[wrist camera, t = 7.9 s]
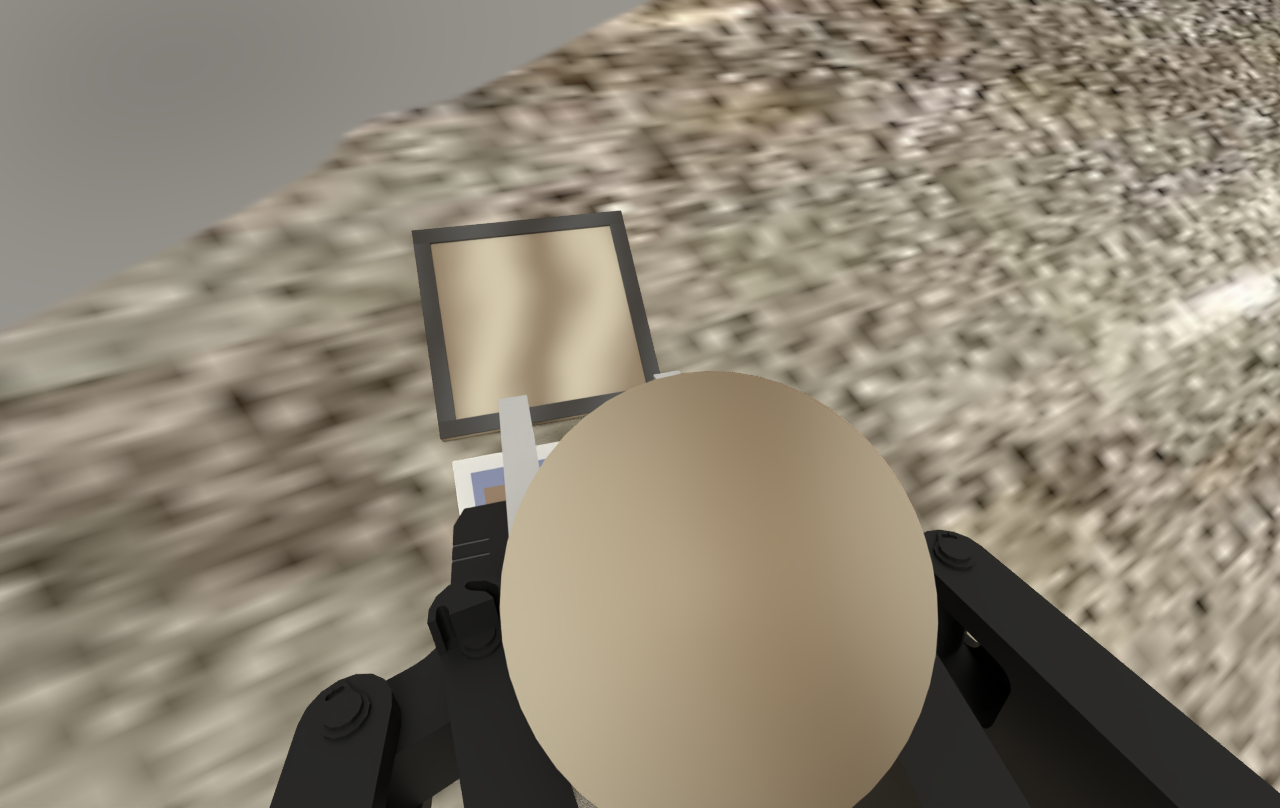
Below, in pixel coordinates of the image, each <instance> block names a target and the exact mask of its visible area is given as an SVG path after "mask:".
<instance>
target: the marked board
mask: <svg viewBox="0 0 1280 808" xmlns="http://www.w3.org/2000/svg"><path fill="white" fill-rule="evenodd" d="M412 236H413V243H414V251H415V258H416V265H417V272H418V280H419V287H420V294H421V301H422V309H423V316H424V323H425V330H426V338H427V345H428V352H429V359H430V367H431V374H432V381H433V389H434V396H435V403H436V410H437V418H438V425H439V432H440V439H441V440H442V441H448V440H454V439H460V438H465V437H471V436H477V435H482V434H488V433H494V432H499V431H501V429H500V416H499V403H498V399H503V398H509V397H516V396H522V395H527V399H528V405H529V410H530V416H531V422H532V426H533V425H539V424H544V423H550V422H556V421H561V420H567V419H573V418H578V417H584V416H587V415H588V414H590V413H591V412H592V411H594V410H595V409H597V408H598V407H599V406H601V405H602V404H604V403H605V402H606V401H608V400H610V399H612V398H614V397H616V396H618V395H619V394H621V393H623V392H625V391H627V390H629V389H631V388H633V387H636V386H639V385H642V384H644V383H647V382H650V381H652V380H654V379H653V375H654V374H660V372H659V367H658V363H657V359H656V355H655V351H654V347H653V342H652V338H651V334H650V330H649V326H648V321H647V317H646V313H645V309H644V305H643V300H642V296H641V292H640V288H639V284H638V280H637V275H636V271H635V267H634V263H633V259H632V254H631V250H630V246H629V242H628V238H627V234H626V229H625V225H624V221H623V217H622V213H621V211H611V212H601V213H590V214H580V215H570V216H559V217H549V218H538V219H528V220H518V221H507V222H497V223H487V224H476V225H466V226H455V227H445V228H435V229H424V230H414V231H412Z"/></svg>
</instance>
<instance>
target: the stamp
mask: <svg viewBox="0 0 1280 808" xmlns="http://www.w3.org/2000/svg"><path fill="white" fill-rule="evenodd" d="M484 495H485V502H486V504H490V503H495V502H500V501H505V500H506V493H505V484H504V485H499V486H494V487H489V488H484ZM500 617H501V630H502V642H503V647H504V652H505V657H506V661H507V666H508V671H509V676H510V679H511V681H512V684H513V687H514V690H515V693H516V696H517V699H518V701H519V704H520V707H521V710H522V711H523V713H524V715H525V717H526V719H527V721H528V723H529V725H530V727H531V729H532V731H533V733H534V735H535V737H536V739H537V741H538V742H539V744H540V745H541V746H542V748H543V749H544V751H545V752H546V754H547V755H548V757H549V758H550V759H551V761H552V762H553V764H554V765H555V767H556V768H557V769H558V770H559V771H560V772H561V773H562V775H563V776H564V777H565V778H566V779H567V780H568V781H569V782H570V783H571V784H572V785H573V786H574V788H575V789H576V790H577V791H578V792H579V793H580V794H581V795H583V796H584V797H585V798H586V799H588V800H589V801H590V802H591V803H592V804H594V805H595V806H596V807H597V808H852V807H853V806H854V805H855V804H856V803H858V802H859V801H860V800H861V799H862V798H863V797H864V796H865V795H867V794H868V793H869V792H870V791H871V790H872V789H873V788H874V786H875V785H876V784H877V783H878V782H879V781H880V779H881V778H882V777H883V776H884V775H885V774H886V772H887V771H888V770H889V769H890V768H891V766H892V765H893V763H894V762H895V760H896V758H897V757H898V755H899V754H900V752H901V751H902V749H903V747H904V746H905V744H906V743H907V741H908V739H909V737H910V735H911V733H912V730H913V728H914V726H915V724H916V722H917V720H918V718H919V715H920V713H921V710H922V707H923V704H924V701H925V698H926V695H927V692H928V689H929V686H930V681H931V676H932V671H933V666H934V661H935V656H936V645H937V631H938V611H937V592H936V585H935V579H934V572H933V566H932V562H931V558H930V554H929V550H928V547H927V543H926V539H925V536H924V533H923V531H922V528H921V526H920V523H919V520H918V518H917V515H916V513H915V510H914V508H913V506H912V504H911V502H910V501H909V499H908V497H907V495H906V493H905V491H904V489H903V487H902V485H901V484H900V482H899V481H898V479H897V478H896V476H895V475H894V473H893V472H892V470H891V469H890V467H889V466H888V464H887V463H886V461H885V460H884V459H883V458H882V457H881V455H880V454H879V453H878V452H877V451H876V450H875V448H874V447H873V446H872V445H871V444H870V442H869V441H868V440H867V439H866V438H865V437H864V436H862V435H861V434H860V433H859V432H858V431H857V430H856V429H855V428H854V427H853V426H852V425H851V424H850V423H849V422H847V421H846V420H845V419H843V418H842V417H841V416H839V415H838V414H837V413H835V412H834V411H833V410H831V409H830V408H829V407H827V406H825V405H824V404H822V403H820V402H819V401H817V400H815V399H814V398H812V397H810V396H808V395H807V394H805V393H802V392H800V391H798V390H796V389H793V388H791V387H789V386H786V385H784V384H782V383H778V382H775V381H772V380H768V379H765V378H762V377H758V376H753V375H747V374H741V373H735V372H716V371H703V372H692V373H681V374H677V375H672V376H668V377H664V378H659V379H655V380H652V381H650V382H647V383H644V384H642V385H639V386H636V387H633V388H631V389H629V390H627V391H625V392H623V393H621V394H619V395H618V396H616V397H614V398H612V399H610V400H608V401H606V402H605V403H604V404H602V405H601V406H599V407H598V408H597V409H595V410H594V411H592V412H591V413H590V414H588V415H587V416H585V417H584V418H583V419H582V420H581V421H580V422H579V423H578V424H577V425H576V426H575V427H573V428H572V429H571V430H570V431H569V432H568V433H567V434H566V435H565V436H564V437H563V438H562V439H561V441H560V442H559V443H558V444H557V445H556V447H555V448H554V449H553V450H552V452H551V453H550V454H549V455H548V456H547V458H546V459H545V460H544V462H543V464H542V465H541V467H540V468H539V470H538V472H537V473H536V475H535V476H534V478H533V480H532V481H531V483H530V484H529V487H528V489H527V491H526V493H525V495H524V497H523V500H522V502H521V504H520V506H519V508H518V510H517V513H516V516H515V519H514V522H513V526H512V529H511V532H510V535H509V538H508V542H507V546H506V552H505V558H504V563H503V569H502V574H501V594H500Z"/></svg>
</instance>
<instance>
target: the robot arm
mask: <svg viewBox="0 0 1280 808" xmlns="http://www.w3.org/2000/svg"><path fill="white" fill-rule="evenodd" d="M677 374H681V373H680V372H679V371H673V372H667V373H661V374H654V375H653V379H654V380H655V379H659V378H664V377H668V376H672V375H677ZM498 403H499V416H500V429H501V442H502V454H503V467H504V480H505V493H506V500H505V501H500V502H495V503H490V504H485V505H480V506H475V507H470V508H465V509H464V510H463V511H462V513H461V515H460V516H459V518H458V520H457V522H456V523H455V525H454V530H453V551H452V562H453V563H452V572H451V585H449V586H447V587H446V588H445V589H444V590H443V591H442V592H441V593H440V594H439V595H438V596H436V598H435V600H434V602H433V603H432V605H431V607H430V609H429V613H428V622H427V624H428V626H429V629H430V632H431V634H432V637H433V640H434V642H435V645H436V648H435V649H434V650H433V651H432V652H431V653H430V654H429V655H428V656H427V657H426V658H425V659H423V660H421V661H420V662H418V663H417V664H415V665H414V666H412V667H410V668H409V669H407V670H405V671H403V672H401V673H399V674H397V675H396V676H394V677H392V678H390V679H388V680H386V681H385V679H383V678H381V677H379V676H376V675H374V674H355V675H352V676H350V677H347V678H344V679H341V680H338V681H337V682H335V683H334V684H333V685H331V686H330V687H328V688H327V689H325V690H324V691H322V692H321V693H320V694H319V695H318V696H317V697H316V698H315V699H314V700H313V701H312V703H311V704H310V705H309V706H308V707H307V708H306V710H305V712H304V714H303V716H302V718H301V720H300V721H299V723H298V725H297V728H296V731H295V734H294V737H293V740H292V743H291V746H290V749H289V752H288V755H287V758H286V761H285V764H284V767H283V770H282V773H281V775H280V778H279V781H278V784H277V787H276V790H275V793H274V796H273V799H272V802H271V805H270V808H431V804H432V796H434V795H435V794H437V793H438V792H440V791H441V790H443V789H444V788H446V787H447V786H449V785H450V784H452V783H453V782H455V781H456V780H458V779H459V778H460V784H461V791H462V797H463V803H464V808H578V805H577V802H576V799H575V796H574V793H573V789H572V786H571V783H570V782H569V781H568V780H567V779H566V778H565V777H564V776H563V775H562V773H561V772H560V771H559V770H558V769H557V768H556V767H555V765H554V764H553V762H552V761H551V759H550V758H549V757H548V755H547V754H546V752H545V751H544V749H543V748H542V746H541V745H540V744H539V742H538V741H537V739H536V737H535V735H534V733H533V731H532V729H531V727H530V725H529V723H528V721H527V719H526V717H525V715H524V713H523V711H522V710H521V707H520V704H519V701H518V699H517V696H516V693H515V690H514V687H513V684H512V681H511V679H510V676H509V671H508V666H507V661H506V657H505V652H504V647H503V642H502V630H501V617H500V594H501V574H502V569H503V563H504V558H505V552H506V546H507V542H508V538H509V535H510V532H511V529H512V526H513V522H514V519H515V516H516V513H517V510H518V508H519V506H520V504H521V502H522V500H523V497H524V495H525V493H526V491H527V489H528V487H529V484H530V483H531V481H532V480H533V478H534V476H535V475H536V473H537V472H538V470H539V462H538V457H537V451H536V445H535V439H534V433H533V428H532V422H531V416H530V410H529V405H528V399H527V395H522V396H516V397H509V398H503V399H498ZM924 536H925V539H926V543H927V547H928V550H929V554H930V558H931V562H932V566H933V572H934V579H935V585H936V592H937V611H938V631H937V645H936V656H935V661H934V666H933V671H932V676H931V681H930V686H929V689H928V692H927V695H926V698H925V701H924V704H923V707H922V710H921V713H920V715H919V718H918V720H917V722H916V724H915V726H914V728H913V730H912V733H911V735H910V737H909V739H908V741H907V743H906V744H905V746H904V747H903V749H902V751H901V752H900V754H899V755H898V757H897V758H896V760H895V762H894V763H893V765H892V766H891V768H890V769H889V770H888V771H887V772H886V774H885V775H884V776H883V777H882V778H881V779H880V781H879V782H878V783H877V784H876V785H875V786H874V788H873V789H872V790H871V791H870V792H869V793H868V794H867V795H865V796H864V797H863V798H862V799H861V800H860V801H859V802H858V803H856V804H855V805H854V806H853V807H852V808H1280V793H1279V792H1278V791H1277V790H1275V789H1274V788H1273V787H1272V786H1271V785H1269V784H1268V783H1267V782H1266V781H1264V780H1263V779H1262V778H1261V777H1260V776H1258V775H1257V774H1256V773H1255V772H1254V771H1252V770H1251V769H1250V768H1249V767H1248V766H1246V765H1245V764H1244V763H1243V762H1242V761H1240V760H1239V759H1238V758H1237V757H1235V756H1234V755H1233V754H1232V753H1231V752H1229V751H1228V750H1227V749H1226V748H1225V747H1223V746H1222V745H1221V744H1220V743H1219V742H1217V741H1216V740H1215V739H1214V738H1213V737H1211V736H1210V735H1209V734H1208V733H1207V732H1205V731H1204V730H1203V729H1202V728H1200V727H1199V726H1198V725H1197V724H1196V723H1194V722H1193V721H1192V720H1191V719H1190V718H1188V717H1187V716H1186V715H1185V714H1184V713H1182V712H1181V711H1180V710H1179V709H1178V708H1176V707H1175V706H1174V705H1173V704H1172V703H1170V702H1169V701H1168V700H1167V699H1165V698H1164V697H1163V696H1162V695H1161V694H1159V693H1158V692H1157V691H1156V690H1155V689H1153V688H1152V687H1151V686H1150V685H1149V684H1147V683H1146V682H1145V681H1144V680H1143V679H1141V678H1140V677H1139V676H1138V675H1136V674H1135V673H1134V672H1133V671H1132V670H1130V669H1129V668H1128V667H1127V666H1126V665H1124V664H1123V663H1122V662H1121V661H1120V660H1118V659H1117V658H1116V657H1115V656H1114V655H1112V654H1111V653H1110V652H1109V651H1108V650H1106V649H1105V648H1104V647H1103V646H1101V645H1100V644H1099V643H1098V642H1097V641H1095V640H1094V639H1093V638H1092V637H1091V636H1089V635H1088V634H1087V633H1086V632H1085V631H1083V630H1082V629H1081V628H1080V627H1079V626H1077V625H1076V624H1075V623H1074V622H1072V621H1071V620H1070V619H1069V618H1068V617H1066V616H1065V615H1064V614H1063V613H1062V612H1060V611H1059V610H1058V609H1057V608H1056V607H1054V606H1053V605H1052V604H1051V603H1050V602H1048V601H1047V600H1046V599H1045V598H1044V597H1042V596H1041V595H1040V594H1039V593H1037V592H1036V591H1035V590H1034V589H1033V588H1031V587H1030V586H1029V585H1028V584H1027V583H1025V582H1024V581H1023V580H1022V579H1021V578H1019V577H1018V576H1017V575H1016V574H1015V573H1013V572H1012V571H1011V570H1010V569H1008V568H1007V567H1006V566H1005V565H1004V564H1002V563H1001V562H1000V561H999V560H998V559H996V558H995V557H994V556H993V555H992V554H990V553H989V552H988V551H987V550H986V549H984V548H983V547H982V546H981V545H979V544H978V543H976V542H974V541H973V540H971V539H970V538H968V537H966V536H963V535H960V534H958V533H955V532H951V531H944V530H933V531H927V532H925V533H924ZM967 631H968V632H969V633H970V634H971V635H972V636H973V637H974V638H975V640H976V641H977V642H976V641H974V640H973V639H972V638H971V637H969V635H968V634H967Z"/></svg>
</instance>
